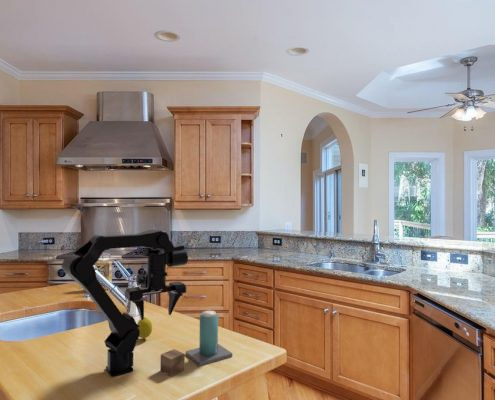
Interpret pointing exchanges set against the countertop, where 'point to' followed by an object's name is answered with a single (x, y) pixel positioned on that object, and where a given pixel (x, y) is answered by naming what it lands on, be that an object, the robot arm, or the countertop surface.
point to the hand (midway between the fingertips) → (156, 317)
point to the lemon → (144, 327)
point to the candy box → (105, 270)
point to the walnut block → (172, 362)
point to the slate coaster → (203, 360)
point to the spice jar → (208, 333)
